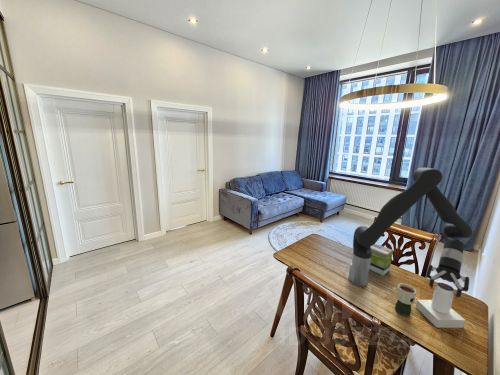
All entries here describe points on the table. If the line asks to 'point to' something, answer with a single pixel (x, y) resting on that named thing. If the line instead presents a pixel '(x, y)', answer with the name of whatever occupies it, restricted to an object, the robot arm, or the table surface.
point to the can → (442, 298)
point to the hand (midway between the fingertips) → (443, 292)
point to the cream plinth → (440, 316)
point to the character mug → (405, 299)
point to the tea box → (380, 259)
